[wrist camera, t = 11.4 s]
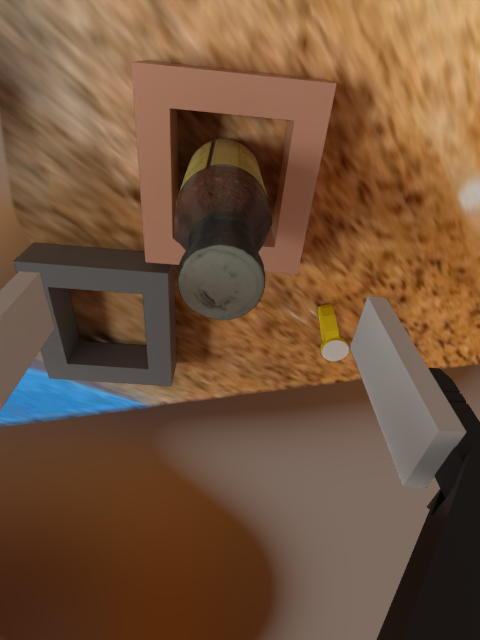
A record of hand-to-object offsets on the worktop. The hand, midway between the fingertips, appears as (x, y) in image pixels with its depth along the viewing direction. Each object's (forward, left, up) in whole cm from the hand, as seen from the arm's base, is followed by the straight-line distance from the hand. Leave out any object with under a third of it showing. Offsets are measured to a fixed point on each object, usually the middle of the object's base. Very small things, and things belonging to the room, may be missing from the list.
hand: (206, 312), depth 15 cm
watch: (+12, -15, -22) cm, 29 cm away
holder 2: (0, 0, -22) cm, 22 cm away
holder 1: (-12, -16, -22) cm, 29 cm away
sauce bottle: (0, 0, -22) cm, 22 cm away
